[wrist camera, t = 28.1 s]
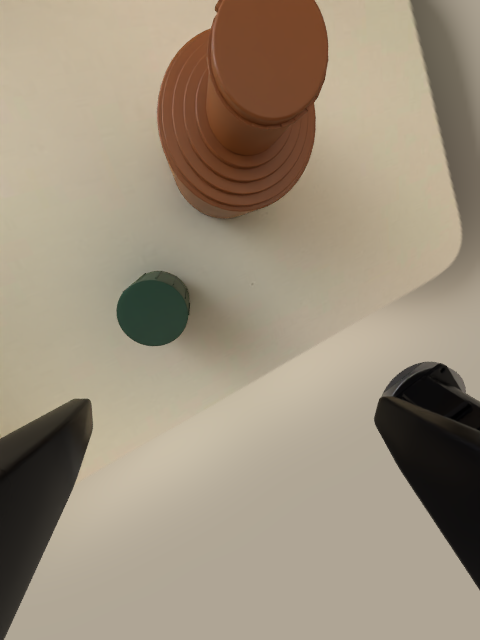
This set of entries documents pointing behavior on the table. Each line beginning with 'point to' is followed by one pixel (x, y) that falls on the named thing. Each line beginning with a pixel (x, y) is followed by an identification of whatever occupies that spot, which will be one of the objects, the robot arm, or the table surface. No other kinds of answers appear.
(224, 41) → the bottle
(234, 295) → the table surface
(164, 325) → the cap
